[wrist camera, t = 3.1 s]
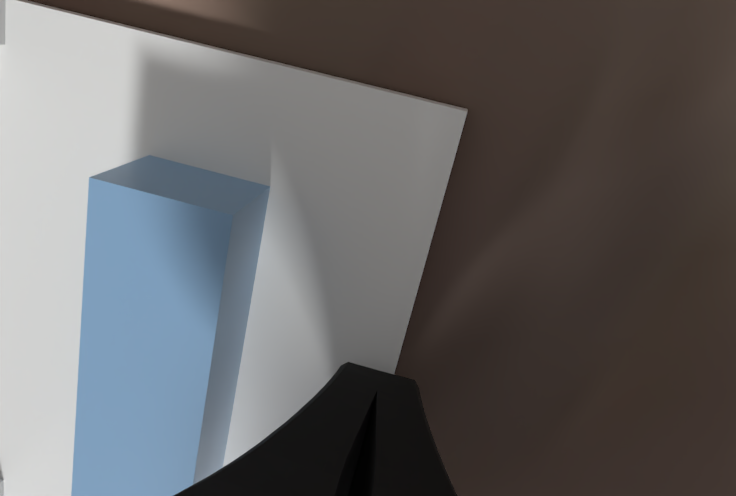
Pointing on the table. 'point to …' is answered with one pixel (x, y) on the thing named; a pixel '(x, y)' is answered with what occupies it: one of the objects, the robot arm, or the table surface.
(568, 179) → the table surface
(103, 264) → the pale blue rectangular prism
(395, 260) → the white storage tray
